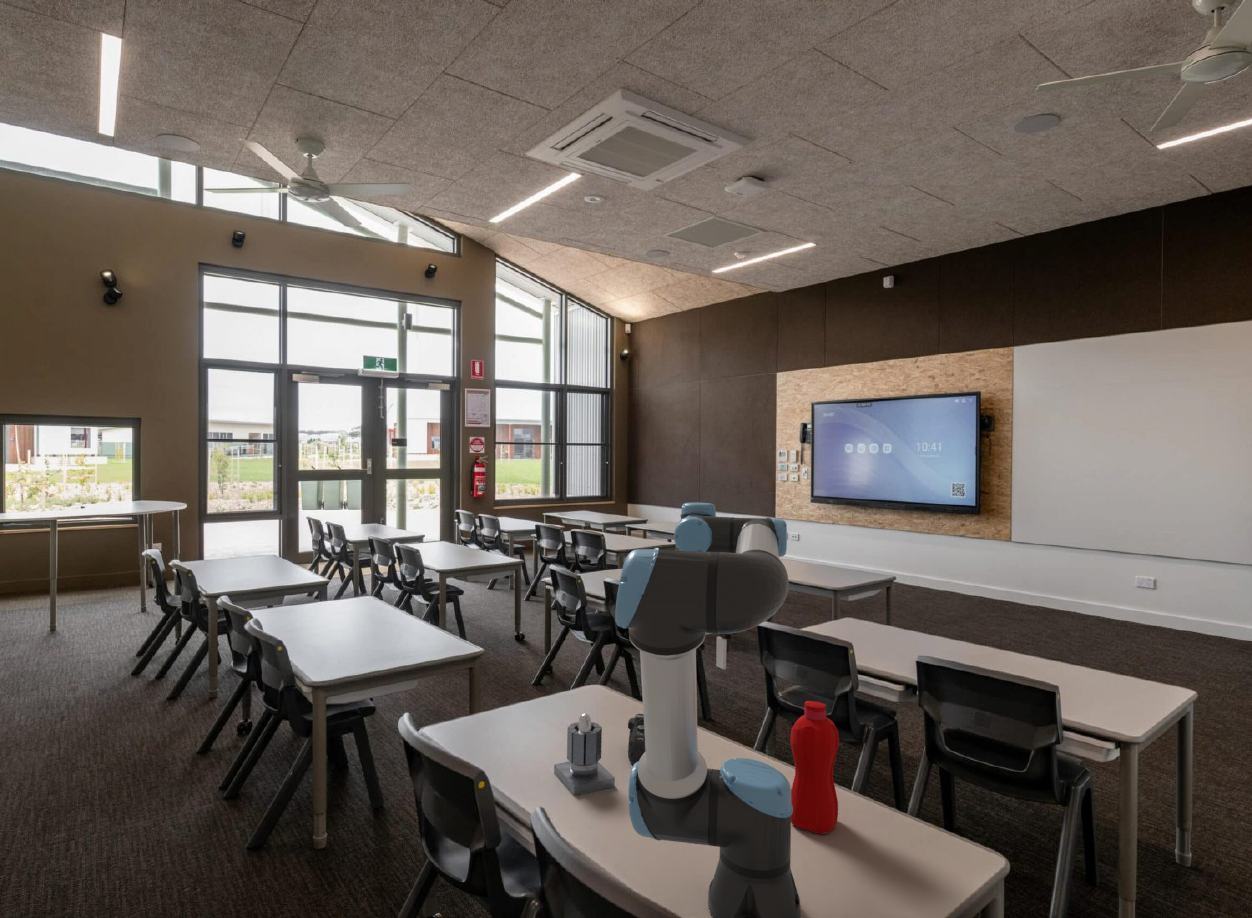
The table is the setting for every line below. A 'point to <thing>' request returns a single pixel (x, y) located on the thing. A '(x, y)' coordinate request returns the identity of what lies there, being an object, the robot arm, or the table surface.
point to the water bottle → (814, 770)
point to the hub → (584, 744)
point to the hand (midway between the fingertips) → (695, 671)
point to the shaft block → (584, 770)
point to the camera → (636, 738)
